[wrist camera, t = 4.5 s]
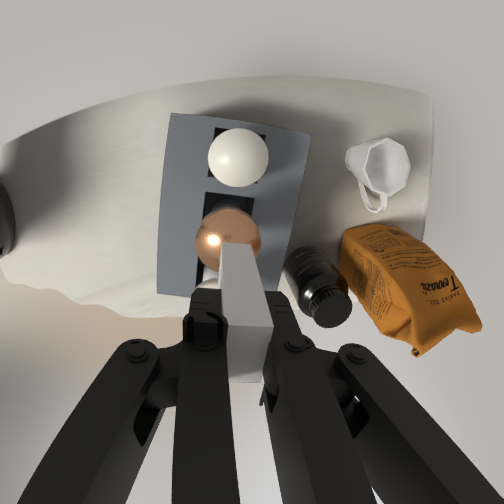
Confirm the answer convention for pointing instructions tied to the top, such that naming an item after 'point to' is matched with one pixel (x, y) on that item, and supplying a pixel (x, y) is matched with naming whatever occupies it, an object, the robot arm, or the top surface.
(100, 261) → the top surface
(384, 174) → the cup
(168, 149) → the grey pod holder
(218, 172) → the knob
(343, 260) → the coffee package
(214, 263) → the brown lidded jar
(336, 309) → the supplement bottle
